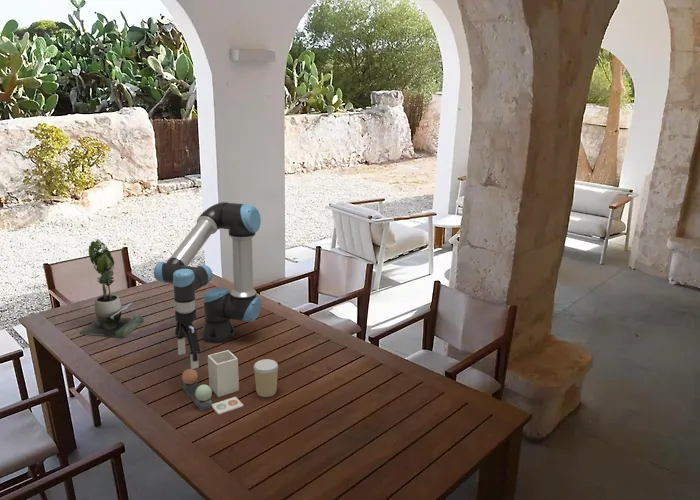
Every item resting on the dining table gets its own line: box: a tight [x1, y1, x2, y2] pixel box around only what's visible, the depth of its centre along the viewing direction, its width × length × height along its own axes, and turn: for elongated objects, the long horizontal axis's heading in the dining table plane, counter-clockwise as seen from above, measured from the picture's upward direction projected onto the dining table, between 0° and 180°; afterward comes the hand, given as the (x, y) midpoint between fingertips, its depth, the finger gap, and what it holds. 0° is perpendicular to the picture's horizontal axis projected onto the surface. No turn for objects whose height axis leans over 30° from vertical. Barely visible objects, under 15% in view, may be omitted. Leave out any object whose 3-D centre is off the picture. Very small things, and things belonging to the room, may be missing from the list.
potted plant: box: [79, 238, 144, 339], centre depth 269 cm, size 22×19×45 cm
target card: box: [211, 396, 245, 415], centre depth 215 cm, size 10×7×1 cm
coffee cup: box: [253, 358, 279, 398], centre depth 223 cm, size 9×9×12 cm
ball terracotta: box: [181, 368, 199, 384], centre depth 224 cm, size 6×6×6 cm
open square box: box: [207, 349, 240, 398], centre depth 224 cm, size 9×9×14 cm
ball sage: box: [195, 384, 213, 401], centre depth 213 cm, size 6×6×6 cm
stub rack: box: [182, 381, 213, 412], centre depth 220 cm, size 5×19×3 cm, turn 36°
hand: (188, 360), depth 222 cm, fingers open, 13 cm apart
